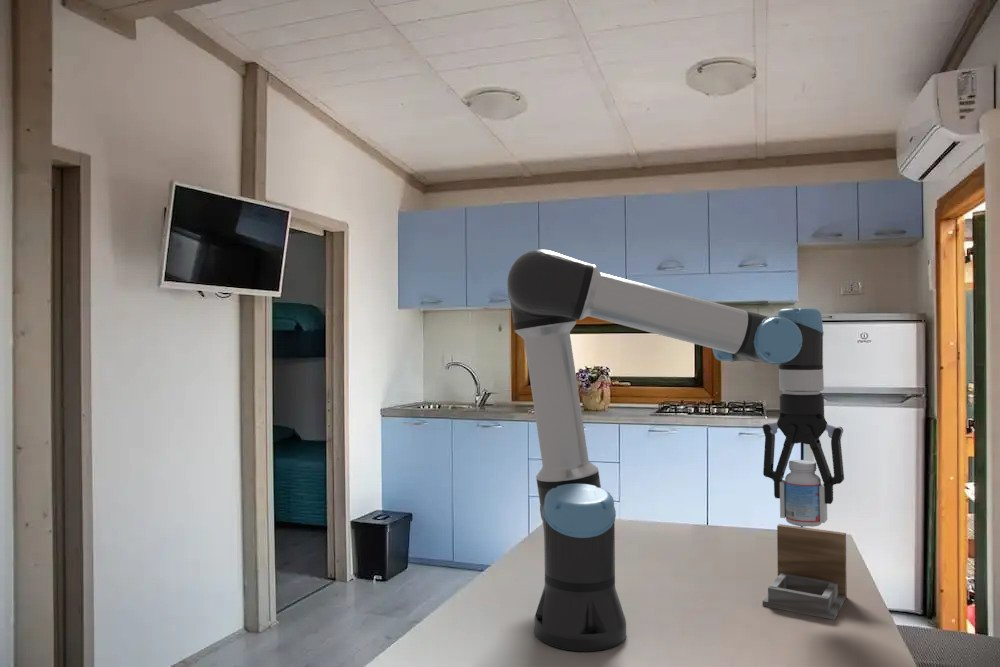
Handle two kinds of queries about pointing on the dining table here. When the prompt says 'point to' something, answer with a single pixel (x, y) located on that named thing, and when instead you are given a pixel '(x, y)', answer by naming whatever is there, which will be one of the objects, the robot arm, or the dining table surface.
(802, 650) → the dining table surface
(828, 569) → the cup bracket
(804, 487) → the pill bottle
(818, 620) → the dining table surface
